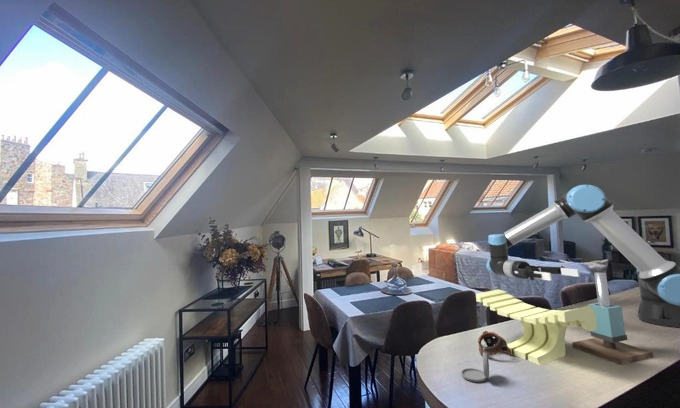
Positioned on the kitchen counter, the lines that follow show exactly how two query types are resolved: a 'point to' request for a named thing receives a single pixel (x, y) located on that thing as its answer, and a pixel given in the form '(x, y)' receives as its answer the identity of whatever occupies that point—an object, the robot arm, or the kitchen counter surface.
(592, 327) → the slatted curved stool
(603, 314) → the sleeve
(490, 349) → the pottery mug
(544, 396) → the kitchen counter surface
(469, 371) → the grey round-based holder
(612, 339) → the dark grey square slab
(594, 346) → the pipe stand
